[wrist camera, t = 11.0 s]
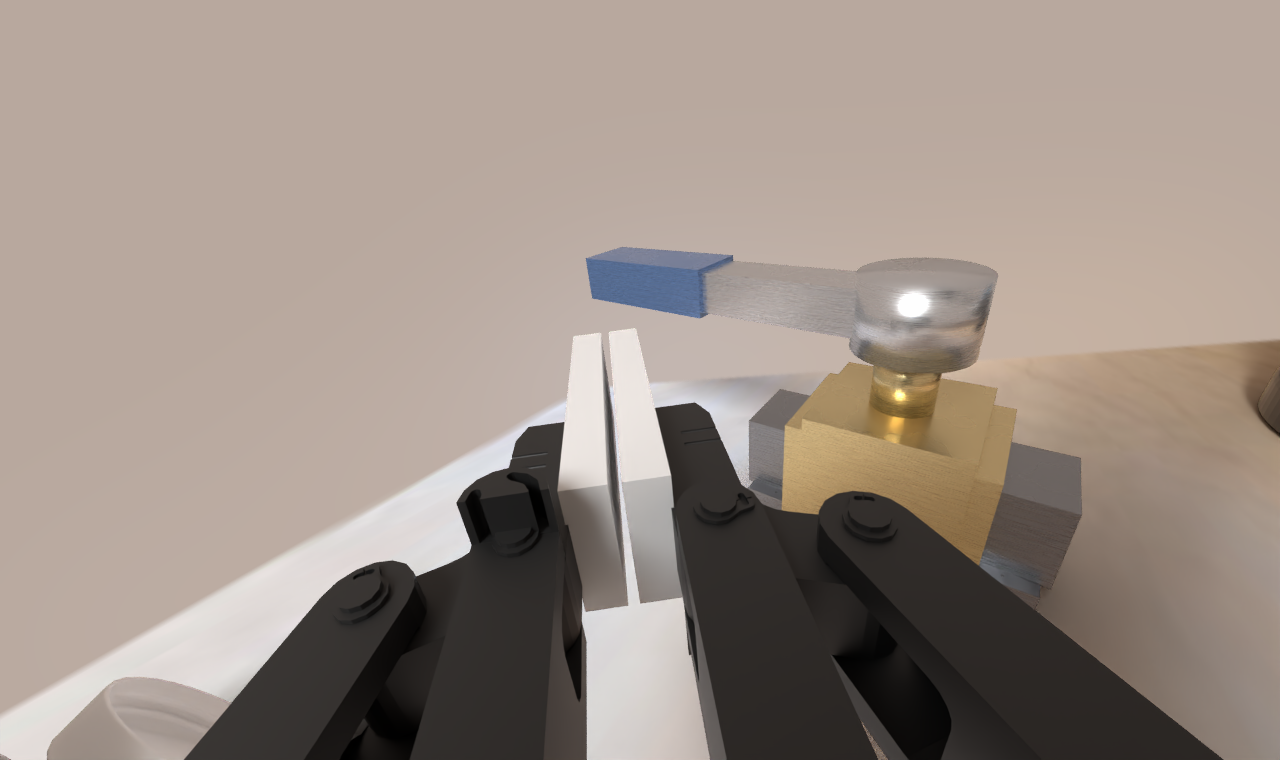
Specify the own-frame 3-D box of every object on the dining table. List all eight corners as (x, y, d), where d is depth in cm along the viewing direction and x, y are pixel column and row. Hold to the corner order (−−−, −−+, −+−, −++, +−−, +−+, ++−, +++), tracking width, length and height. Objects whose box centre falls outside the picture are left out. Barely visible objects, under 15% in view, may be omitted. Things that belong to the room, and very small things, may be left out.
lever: (962, 384, 15) (982, 297, 14) (584, 306, 28) (575, 255, 26) (989, 339, 18) (1008, 262, 17) (634, 286, 31) (629, 239, 29)
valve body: (1043, 539, 21) (1116, 348, 17) (1035, 645, 17) (1130, 428, 13) (786, 457, 28) (792, 309, 24) (738, 518, 24) (735, 352, 20)
